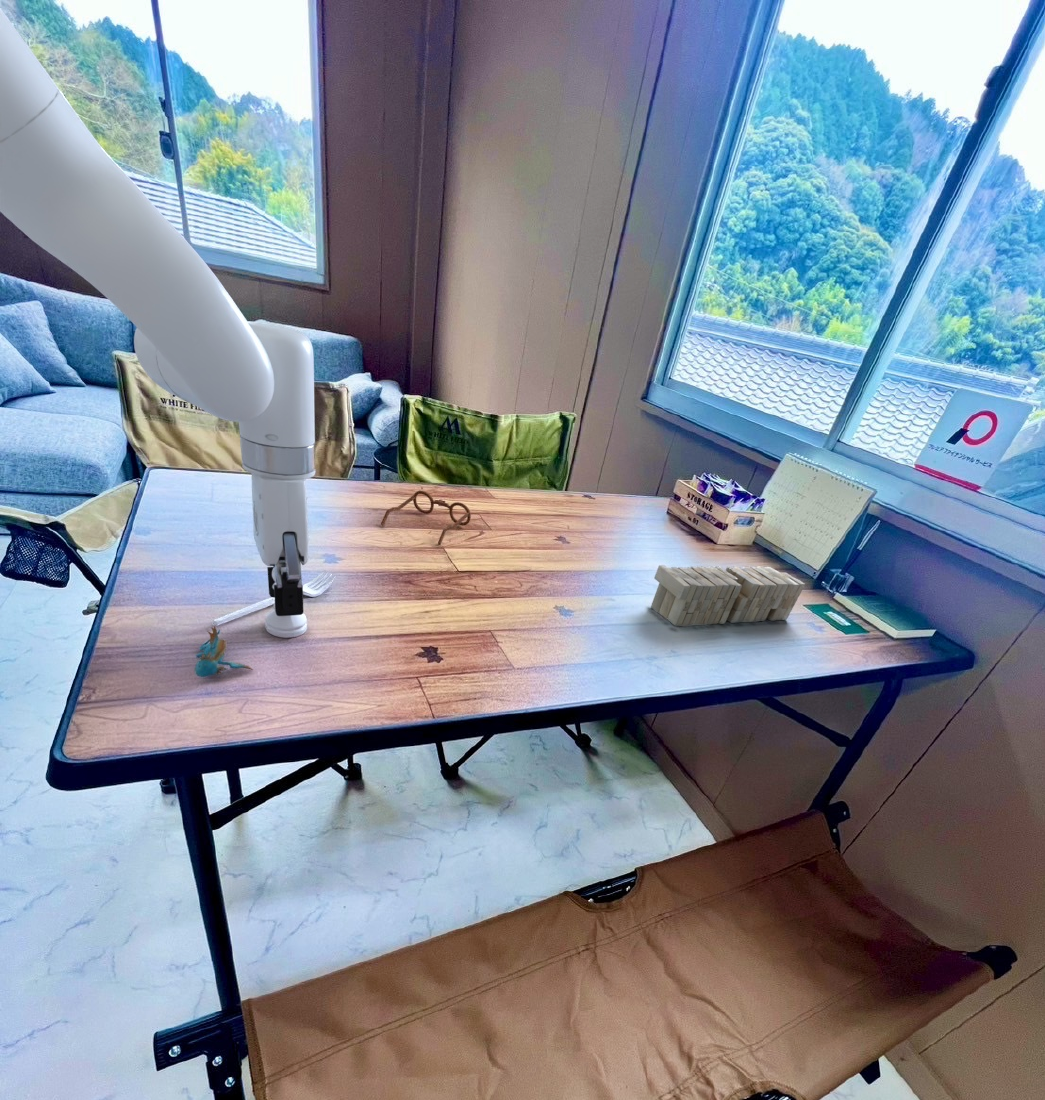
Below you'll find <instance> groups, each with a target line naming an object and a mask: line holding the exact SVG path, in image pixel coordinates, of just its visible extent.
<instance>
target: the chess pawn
mask: <svg viewBox="0 0 1045 1100" xmlns="http://www.w3.org/2000/svg"><path fill="white" fill-rule="evenodd" d="M283 572H286V567H281V574H282V573H283ZM272 577H273V579H274V581H275V583H274V584H273V586H272V587H273V589H274V585H277V584H276V574H275V567H274V568H273V570H272ZM272 605H273V606H272V608H273V609H272V610H270V611H269V612H267V614H266V615H265V618H264V619H265V629H266V631H267V632H268V633H269V634H270V635H272V636H273V637H277V638H281V639H282V638H283V639H291V638H296V637H300V636H302V635H303V634H305V633H306V632H307V630H308V619H307V618H308V617H307V616H306V614H305V613H303V614H302V615H291V616H277V615H276V612H275V604H272Z"/></svg>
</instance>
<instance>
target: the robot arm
mask: <svg viewBox="0 0 1045 1100" xmlns="http://www.w3.org/2000/svg"><path fill="white" fill-rule="evenodd" d="M0 213H1V214H2V215H3V216H4V217H5V218H6V219H8V220H9V221H10V222H11V223H12V224H13V225H14V226H15V227H17V228H18V229H19V230H20V231H21V232H22V233H24V234H25V235H26V236H27V237H28V238H29V239H30V240H31V241H33V242H34V243H35V244H36V245H38V246H39V247H40V248H42V249H43V250H45V251H46V252H47V253H48V254H50V255H52V257H54V258H56V259H57V260H59V261H61V263H63V264H64V265H65V266H67V267H68V268H70V269H71V270H72V271H74V272H75V273H76V274H78V275H79V276H80V277H82V278H83V279H84V280H86V281H87V282H88V283H89V284H90V285H91V286H93V287H94V288H95V289H96V290H97V291H98V292H100V293H101V294H102V295H103V296H104V297H105V298H106V299H108V300H109V301H110V303H112V304H113V305H114V306H115V307H116V308H117V309H118V310H119V311H120V312H121V313H122V314H123V315H124V316H125V317H126V318H127V319H128V320H129V321H130V322H131V323H132V324H133V325H134V326H135V327H136V328H135V331H134V335H133V346H134V347H133V348H134V352H135V355H136V358H137V361H138V362H139V365H140V366H141V368H142V370H143V371H144V372H145V374H146V375H147V376H148V377H149V378H150V379H151V380H152V381H153V382H154V383H155V384H156V385H158V386H159V387H160V388H161V389H163V390H164V391H166V392H168V393H169V394H171V395H173V396H175V397H177V398H179V399H181V400H182V401H184V402H186V403H188V404H191V405H193V406H196V407H197V408H199V409H201V410H202V411H204V412H206V413H208V414H209V415H212V416H213V417H216V418H218V419H221V420H224V421H228V422H237V423H238V429H239V441H240V454H241V455H240V456H241V466H242V469H243V470H244V471H245V472H248V473H249V474H251V502H252V503H251V504H252V523H253V524H252V526H253V529H252V531H253V538H254V542H255V545H256V548H257V551H258V554H259V556H260V559H261V561H262V563H263V564H264V565H265V566H267V567H266V568H267V569H266V570H267V582H268V585H267V586H268V594H269V598H270V597H275V612H276V615H277V616H291V615H302V614H304V595H303V585H304V584H303V577H302V566H305V565H306V564H307V563H308V562H309V551H310V550H309V549H310V548H309V545H310V544H309V540H310V539H309V513H308V512H309V511H308V510H309V509H308V493H307V480H308V479H310V478H313V477H314V476H315V475H316V431H315V430H316V429H315V428H316V427H315V426H316V425H315V422H316V420H315V418H316V417H315V416H316V415H315V361H314V360H315V357H314V347H313V344H312V341H311V340H310V337H308V336H307V335H306V334H305V333H304V332H302V331H301V330H298V329H295V328H292V327H288V326H285V325H280V324H275V323H270V322H262V321H248V320H247V318H246V317H245V316H244V313H242V312H241V310H240V308H239V307H238V306H237V304H236V302H235V301H234V300H233V298H232V297H231V295H230V294H229V292H228V291H227V290H226V288H225V286H224V285H223V284H222V282H221V281H220V279H219V278H218V277H217V276H216V275H215V273H214V272H213V271H212V269H211V268H210V267H209V266H208V263H206V262H205V261H204V259H203V258H202V257H201V256H200V255H199V253H198V252H197V251H196V250H195V248H193V246H192V245H191V244H190V243H189V242H188V240H186V238H185V237H184V236H183V235H182V233H180V231H178V230H177V229H176V228H175V226H174V225H173V224H172V223H171V222H170V221H169V220H168V219H167V218H166V217H165V215H164V214H163V213H162V212H161V211H160V210H159V209H158V207H156V205H155V204H154V203H153V202H152V201H151V200H150V199H149V197H147V195H146V194H145V193H144V192H143V191H142V189H141V188H140V187H139V186H138V185H137V184H136V182H135V181H133V179H132V178H131V177H130V176H129V175H128V174H127V173H126V172H125V171H124V170H123V169H122V167H120V166H119V165H118V164H117V163H116V162H115V161H114V160H113V158H112V157H111V156H110V155H109V154H108V153H107V152H106V151H105V149H104V148H103V147H102V146H101V144H100V143H99V142H98V140H97V139H96V138H95V137H94V135H93V133H92V132H91V131H90V129H88V127H87V126H86V124H85V123H84V122H83V120H82V119H81V118H80V116H79V114H78V113H77V112H76V110H75V109H74V108H73V106H72V105H71V103H70V102H69V101H68V100H67V98H66V97H65V96H64V94H63V92H62V91H61V89H60V88H59V87H58V86H57V84H56V82H54V80H53V78H51V76H50V74H49V73H48V72H47V70H46V69H45V68H44V66H43V65H42V63H41V62H40V61H39V59H38V58H37V56H36V55H35V54H34V52H33V51H32V50H31V48H30V47H29V45H28V44H27V42H26V41H25V40H24V38H23V37H22V35H21V34H20V33H19V31H18V30H17V28H16V27H15V26H14V24H13V23H12V21H11V20H10V19H9V18H8V16H7V15H6V13H5V11H4V10H3V9H2V8H1V7H0ZM274 567H275V574H276V584H277V585H274V589H273V587H272V586H273V584H274V583H275V581H274V579H273V577H272V570H273V568H274ZM281 567H286V572H283V573H282V574H281Z"/></svg>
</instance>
